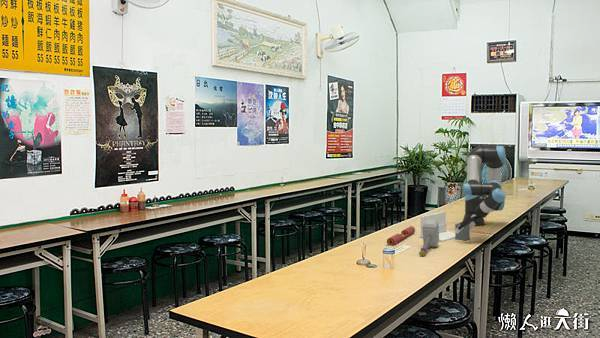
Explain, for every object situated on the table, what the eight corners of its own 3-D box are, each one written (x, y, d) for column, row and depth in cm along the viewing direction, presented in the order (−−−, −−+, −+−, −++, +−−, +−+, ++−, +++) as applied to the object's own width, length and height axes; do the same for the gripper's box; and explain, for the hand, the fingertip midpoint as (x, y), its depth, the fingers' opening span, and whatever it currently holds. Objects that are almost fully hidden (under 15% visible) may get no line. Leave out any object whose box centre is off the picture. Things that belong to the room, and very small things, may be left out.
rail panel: (443, 232, 351) (443, 211, 350) (465, 235, 339) (465, 214, 338) (420, 238, 334) (420, 216, 333) (442, 241, 322) (442, 219, 321)
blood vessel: (408, 233, 352) (407, 225, 352) (415, 233, 350) (415, 226, 350) (386, 245, 316) (386, 237, 316) (394, 246, 314) (394, 238, 313)
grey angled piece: (428, 242, 282) (438, 219, 308) (413, 241, 286) (424, 219, 311) (429, 266, 287) (439, 242, 313) (415, 265, 290) (426, 241, 316)
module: (459, 238, 330) (459, 221, 330) (469, 240, 325) (469, 222, 324) (455, 239, 327) (455, 222, 326) (465, 241, 322) (465, 223, 321)
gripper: (477, 216, 303) (454, 238, 315) (498, 211, 320) (476, 232, 332) (469, 206, 307) (447, 228, 319) (490, 202, 323) (468, 223, 335)
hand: (462, 230), depth 325 cm, fingers open, 13 cm apart
